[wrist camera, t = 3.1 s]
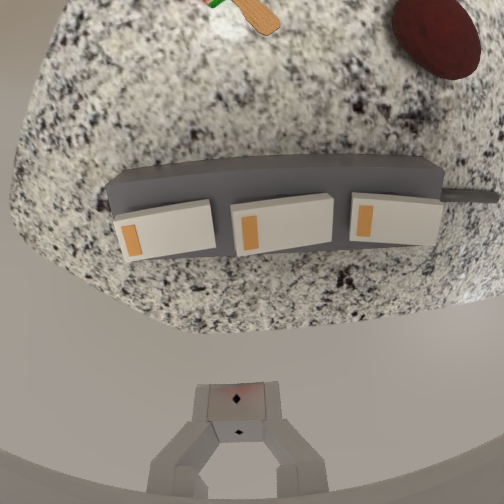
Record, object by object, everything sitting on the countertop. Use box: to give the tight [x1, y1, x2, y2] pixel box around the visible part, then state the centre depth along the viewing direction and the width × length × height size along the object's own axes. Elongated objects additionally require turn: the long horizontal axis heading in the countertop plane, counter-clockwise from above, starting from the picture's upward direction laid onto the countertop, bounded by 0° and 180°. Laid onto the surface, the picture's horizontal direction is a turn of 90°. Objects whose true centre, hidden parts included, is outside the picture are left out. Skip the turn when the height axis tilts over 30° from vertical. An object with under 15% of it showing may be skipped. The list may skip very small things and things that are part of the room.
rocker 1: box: [113, 199, 216, 262], centre depth 22 cm, size 7×3×1 cm, turn 94°
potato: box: [392, 0, 481, 80], centre depth 16 cm, size 7×8×6 cm
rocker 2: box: [230, 193, 334, 257], centre depth 22 cm, size 7×3×1 cm, turn 94°
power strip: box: [105, 154, 499, 260], centre depth 24 cm, size 38×7×5 cm, turn 94°
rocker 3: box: [349, 192, 444, 246], centre depth 21 cm, size 7×3×1 cm, turn 94°
